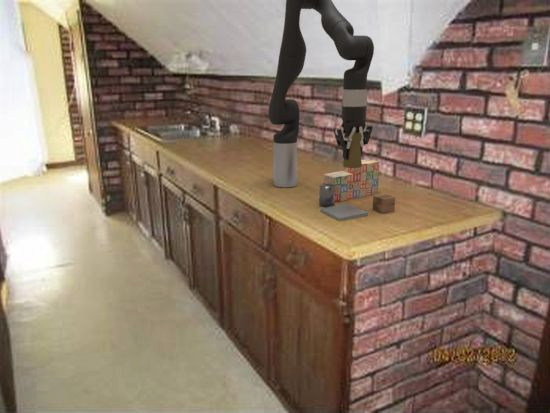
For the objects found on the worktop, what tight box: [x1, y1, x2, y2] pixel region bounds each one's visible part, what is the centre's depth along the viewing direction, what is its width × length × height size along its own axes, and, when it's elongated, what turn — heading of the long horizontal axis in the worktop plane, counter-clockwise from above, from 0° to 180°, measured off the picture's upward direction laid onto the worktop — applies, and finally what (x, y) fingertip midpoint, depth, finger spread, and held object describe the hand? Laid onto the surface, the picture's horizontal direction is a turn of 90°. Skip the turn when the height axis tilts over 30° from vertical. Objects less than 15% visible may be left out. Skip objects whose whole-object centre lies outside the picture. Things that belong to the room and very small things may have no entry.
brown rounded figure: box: [342, 132, 362, 168], centre depth 149 cm, size 6×6×11 cm
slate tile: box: [319, 203, 369, 222], centre depth 153 cm, size 11×11×1 cm
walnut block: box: [372, 193, 396, 215], centre depth 155 cm, size 5×5×5 cm
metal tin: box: [318, 183, 335, 208], centre depth 161 cm, size 5×5×7 cm
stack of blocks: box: [322, 158, 380, 203], centre depth 170 cm, size 21×6×12 cm, turn 123°
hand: (352, 158), depth 150 cm, fingers closed on brown rounded figure, 4 cm apart
